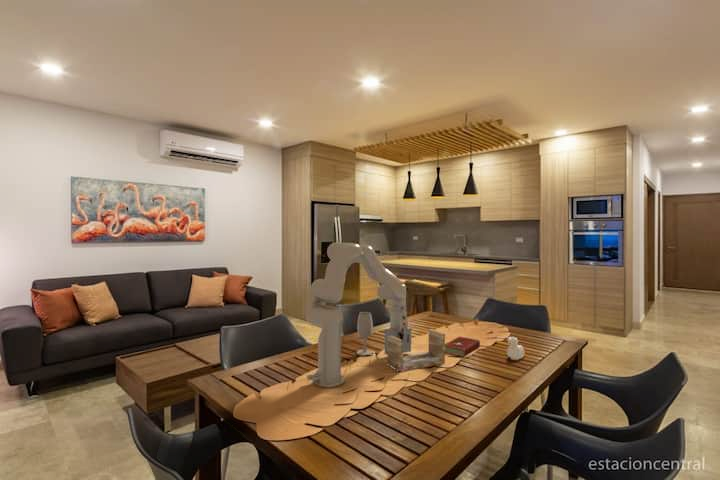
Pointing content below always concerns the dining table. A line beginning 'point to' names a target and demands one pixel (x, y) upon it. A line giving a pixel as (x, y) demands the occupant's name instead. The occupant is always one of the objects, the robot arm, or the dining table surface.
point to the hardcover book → (462, 345)
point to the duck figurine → (515, 349)
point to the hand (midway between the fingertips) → (398, 343)
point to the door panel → (395, 333)
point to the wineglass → (364, 330)
